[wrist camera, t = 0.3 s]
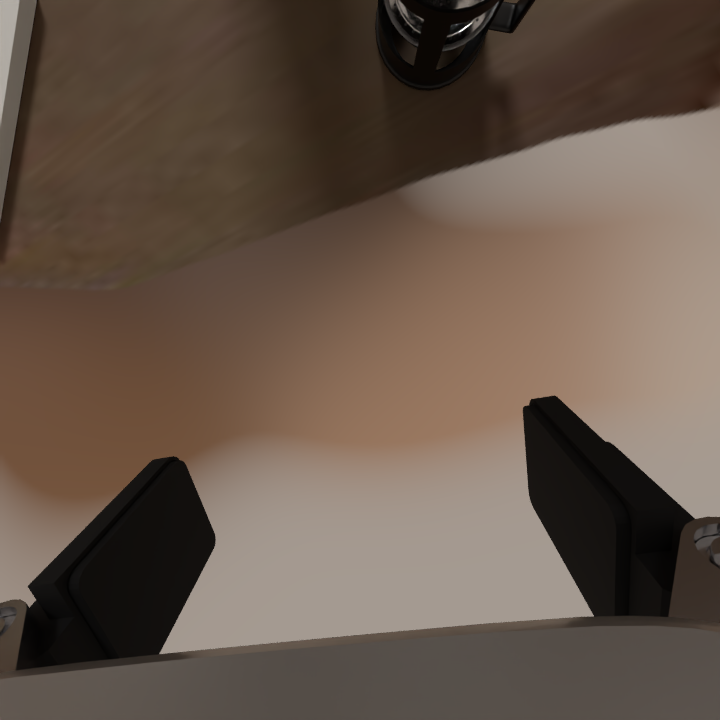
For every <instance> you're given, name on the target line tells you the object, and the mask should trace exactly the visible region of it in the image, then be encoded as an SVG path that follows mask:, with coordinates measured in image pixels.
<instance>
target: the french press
mask: <svg viewBox="0 0 720 720" xmlns="http://www.w3.org/2000/svg"><path fill="white" fill-rule="evenodd" d="M503 1H504V0H378V8H377V12H376V26H375V29H376V39H377V44H378V48H379V52H380V55H381V57H382V59H383V61H384V64H385V65H386V67H387V68H388V70H389V71H390V72H391V74H392V75H393V76H394V77H396V78H397V79H398V80H399V81H400V82H402V83H403V84H405V85H407V86H409V87H411V88H415V89H418V90H434V89H440V88H442V87H445V86H447V85H450V84H451V83H453V82H454V81H456V80H457V79H459V78H460V77H461V76H462V75H463V74H464V73H465V72H466V71H467V70H468V69H469V68H470V66H471V65H472V63H473V62H474V61H475V59H476V57H477V55H478V53H479V51H480V49H481V47H482V44H483V41H484V38H485V35H486V33H487V31H488V30H494V31H499V32H505V33H513V32H514V31H515V29H516V28H517V26H518V25H519V23H520V22H521V20H522V19H523V18H524V16H525V15H526V13H527V12H528V10H529V9H530V7H531V6H532V4H533V3H534V1H535V0H519V1H518V2H517V3H508V2H503ZM391 21H392V23H393V24H394V26H395V27H396V29H397V30H398V32H399V33H400V34H401V35H402V36H403V37H404V38H405V39H406V40H407V41H408V42H409V43H411V44H412V45H413V46H415V47H417V53H416V58H415V62H414V66H412V65H411V64H409V63H407V62H406V61H405V60H403V59H402V57H401V56H400V54H399V53H398V52H397V50H396V47H395V45H394V43H393V39H392V35H391ZM466 42H467V44H466V46H465V48H464V49H463V51H462V52H461V54H460V55H459V56H458V57H457V58H456V59H455V60H454V61H453V62H452V63H450V64H449V65H447V66H446V67H443V68H441V69H438V70H436V67H437V64H438V61H439V58H440V55H441V53H442V52H444V51H448V50H452V49H454V48H456V47H459V46H461V45H463V44H465V43H466Z"/></svg>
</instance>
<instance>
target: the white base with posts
mask: <svg viewBox="0 0 720 720" xmlns="http://www.w3.org/2000/svg"><path fill="white" fill-rule="evenodd" d="M36 3H37V0H0V221H1V215H2V209H3V203H4V197H5V191H6V185H7V179H8V172H9V166H10V160H11V154H12V148H13V142H14V136H15V130H16V124H17V118H18V112H19V106H20V100H21V94H22V88H23V82H24V76H25V70H26V64H27V57H28V51H29V45H30V39H31V33H32V27H33V21H34V15H35V9H36Z"/></svg>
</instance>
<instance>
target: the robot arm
mask: <svg viewBox="0 0 720 720" xmlns="http://www.w3.org/2000/svg"><path fill="white" fill-rule="evenodd" d="M523 420H524V433H525V447H526V461H527V475H528V489H529V496H530V500H531V503H532V506H533V508H534V510H535V511H536V513H537V515H538V517H539V519H540V520H541V522H542V524H543V526H544V527H545V529H546V531H547V533H548V535H549V536H550V538H551V540H552V541H553V543H554V545H555V547H556V549H557V551H558V552H559V554H560V556H561V558H562V559H563V561H564V563H565V565H566V567H567V568H568V570H569V572H570V574H571V576H572V577H573V579H574V581H575V583H576V585H577V586H578V588H579V590H580V592H581V593H582V595H583V597H584V599H585V601H586V602H587V604H588V606H589V608H590V609H591V611H592V613H593V615H594V617H573V618H559V619H546V620H533V621H532V620H531V621H517V622H503V623H489V624H477V625H466V626H455V627H443V628H432V629H422V630H410V631H399V632H389V633H388V632H387V633H377V634H365V635H354V636H343V637H332V638H322V639H312V640H301V641H291V642H280V643H270V644H259V645H249V646H238V647H228V648H218V649H207V650H197V651H187V652H178V653H168V654H159V653H160V651H161V649H162V647H163V645H164V643H165V642H166V640H167V638H168V636H169V634H170V632H171V630H172V628H173V626H174V624H175V622H176V620H177V618H178V616H179V614H180V613H181V611H182V609H183V607H184V605H185V603H186V601H187V599H188V597H189V595H190V593H191V591H192V589H193V588H194V586H195V584H196V582H197V580H198V578H199V576H200V574H201V572H202V570H203V568H204V566H205V564H206V562H207V561H208V559H209V557H210V555H211V553H212V551H213V549H214V546H215V533H214V531H213V529H212V526H211V524H210V521H209V519H208V517H207V514H206V512H205V509H204V507H203V505H202V502H201V500H200V497H199V495H198V493H197V490H196V488H195V485H194V483H193V481H192V478H191V476H190V474H189V471H188V469H187V466H186V464H185V463H184V462H183V461H180V460H179V459H178V458H177V457H174V456H173V457H167V458H160V459H155V460H152V461H151V462H150V463H149V464H148V465H147V466H146V467H145V468H144V469H143V470H142V471H141V472H140V473H139V474H138V475H137V476H136V477H135V478H134V479H133V480H132V481H131V482H130V483H129V484H128V485H127V486H126V487H125V488H124V489H123V490H122V491H121V492H120V493H119V494H118V496H116V498H114V499H113V500H112V501H111V502H110V503H109V505H107V506H106V507H105V508H104V510H102V512H101V513H100V514H99V515H98V516H97V517H96V518H95V519H94V520H93V521H92V522H91V523H90V524H89V525H88V526H87V527H86V528H85V529H84V530H83V531H82V532H81V533H80V534H79V535H78V536H77V537H76V538H75V539H74V540H73V541H72V542H71V543H70V544H69V545H68V546H67V547H66V548H65V549H64V550H63V551H62V552H61V553H60V554H59V555H58V556H57V557H56V558H55V559H54V560H53V561H52V562H51V563H50V564H49V565H48V566H47V567H46V568H45V569H44V570H43V571H42V572H41V573H40V574H39V575H38V577H36V578H35V579H34V580H33V581H32V583H30V585H28V588H29V589H30V591H31V592H32V594H33V595H34V597H35V598H36V601H35V602H34V603H33V605H31V607H30V608H29V607H28V605H27V604H26V603H25V602H24V601H22V600H10V601H6V602H3V603H0V720H720V517H704V518H699V519H695V518H693V517H692V516H691V515H690V514H689V513H688V512H687V511H686V510H685V509H683V508H682V507H681V506H680V505H679V504H678V503H677V502H676V501H675V500H673V499H672V498H671V497H670V496H669V495H668V494H667V493H666V492H665V491H664V490H663V489H662V488H660V487H659V486H658V485H657V484H656V483H655V482H654V481H653V480H652V479H651V478H649V477H648V476H647V475H646V474H645V473H644V472H643V471H642V470H641V469H640V468H638V467H637V466H636V465H635V464H634V463H633V462H632V461H631V460H630V459H629V458H627V457H626V456H625V455H624V454H623V453H622V452H621V451H620V450H618V448H616V447H615V446H614V445H612V444H611V443H609V442H605V441H604V440H603V439H602V438H601V437H599V436H598V435H597V434H596V433H595V432H594V431H593V430H592V429H591V428H590V427H589V426H588V425H587V424H586V423H584V422H583V421H582V420H581V419H580V418H579V417H578V416H577V415H576V414H575V413H574V412H573V411H572V410H570V409H569V408H568V407H567V406H566V405H565V404H564V403H563V402H562V401H561V400H560V399H559V398H558V397H556V396H549V397H543V398H536V399H531V401H530V404H529V406H524V407H523Z"/></svg>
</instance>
